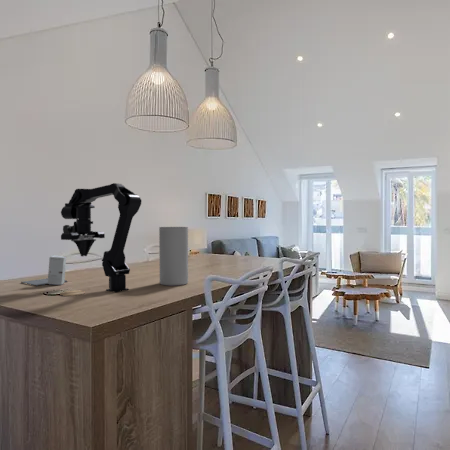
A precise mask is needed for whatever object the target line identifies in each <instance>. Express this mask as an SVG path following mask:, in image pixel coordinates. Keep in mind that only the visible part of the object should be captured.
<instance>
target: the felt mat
mask: <svg viewBox="0 0 450 450" xmlns="http://www.w3.org/2000/svg"><path fill="white" fill-rule="evenodd" d="M22 282H23V283H27V284H31V285H30V286H32V285H36V286H35V287H39V286H38V285H42V286H46V285H45V284H48V277H47V278H46V277H45V278H40V279H32V280H25V281H22ZM67 282H68V280H66V279H65V280H64V283H67ZM27 284H26V285H27Z"/></svg>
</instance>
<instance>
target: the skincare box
mask: <svg viewBox="0 0 450 450" xmlns="http://www.w3.org/2000/svg"><path fill="white" fill-rule="evenodd" d="M48 258H49V259H48V260H49V261H48V272H47V278H48V284H49V285H58V286H62V285H63V284H64V283H65V282H64V280H66V267H67V266H66V265H67V256H64V255H54V254H53V255H50V256H49V257H48Z"/></svg>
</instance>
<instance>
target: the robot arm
mask: <svg viewBox="0 0 450 450" xmlns="http://www.w3.org/2000/svg"><path fill="white" fill-rule="evenodd" d="M109 196H113V198H114V199H115V201H116V202H117V203H118V204H117V208H118V212H119V217H118V221H117V225H116V228H115V231H114V236H113V239H112V244H111V247H110V249H108V250H105V251H104V252H103V257H102V259H101V262H102V263H101V264H102V265H101V266H102V268H103V272H104V276H105V277H108V288H106V289H105V291H106V292H112V293H119V292H124V291H129V290H130V288H128V287H126V286H127V284H126V283H127V282H126V280H127V279H126V276H127V275H129V274H130V271H131V269H130V267H129V266H128V264H127V263H126V255H125V247H126V243H127V239H128V236H129V232H130V228H131V224H132V222H133V218H134V216H135V215H136V214H137V213H138V212H139V210H140V207H141V205H142V199H141V197H140V195H138V194H135V193H134V192H133V191H131V190H130V189H128V188H127V187H125V186H124V185H123V184H122V183H115V182H114V183H110V184H108V185H103V186H98V187H94V188H76V189H75V190H74V192H73V194H72V195H71V198H70V199H69V201H68V202H67V203H64V206H63V207H62V209H61V211H60V214H61V217H62V218H63V219H65V220H76V221H73V225H69V224H65V225H63V226H62V233H61V235H60V240H62V241H71V242H73V243H74V244H75V245H76V247H77V249H78V252H79V255H80V257H87V256H88V254H89V252H90V250H91V248H92V246H93V244H94V242H96V241H97V239H105V232H104V231H93V230H92V225H93V224H94V221H92V211H91V210H92V209H95V205H94V204H93V203H94V202H95V201H96V200H97V199H101V198H105V197H109Z"/></svg>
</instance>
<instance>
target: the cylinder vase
mask: <svg viewBox="0 0 450 450" xmlns="http://www.w3.org/2000/svg"><path fill="white" fill-rule="evenodd" d="M158 229H159V230H158V234H159V235H158V237H159V239H158V240H159V241H158V242H159V243H158V244H159V247H158V248H159V252H158V253H159V254H158V255H159V284H160V285H161V286H170V287H171V286H172V287H174V286H175V287H177V286H183V285H187V284H188V283H189V227H188V226H159V227H158Z"/></svg>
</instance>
